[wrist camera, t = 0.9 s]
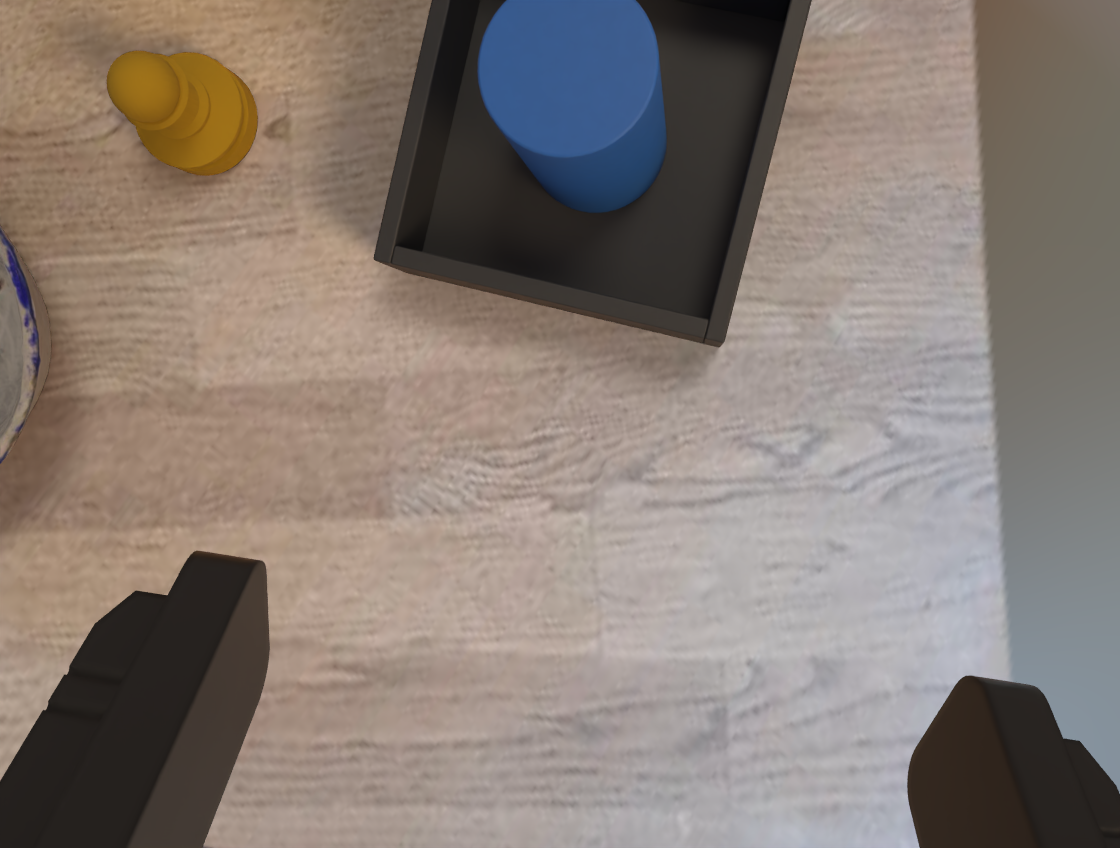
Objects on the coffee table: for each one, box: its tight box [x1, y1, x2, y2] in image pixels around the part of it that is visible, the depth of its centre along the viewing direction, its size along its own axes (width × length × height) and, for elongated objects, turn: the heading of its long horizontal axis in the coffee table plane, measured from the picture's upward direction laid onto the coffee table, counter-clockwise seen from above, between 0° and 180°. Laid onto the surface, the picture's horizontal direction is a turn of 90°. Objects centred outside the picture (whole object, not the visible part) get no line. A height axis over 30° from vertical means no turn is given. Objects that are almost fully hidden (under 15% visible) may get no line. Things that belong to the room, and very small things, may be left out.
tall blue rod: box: [477, 0, 667, 213], centre depth 28 cm, size 5×5×8 cm
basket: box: [374, 0, 812, 347], centre depth 31 cm, size 11×11×4 cm
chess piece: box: [107, 51, 258, 176], centre depth 32 cm, size 4×4×5 cm
